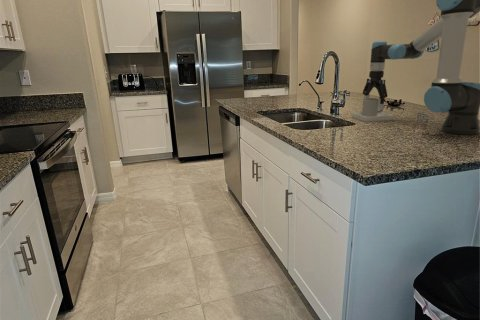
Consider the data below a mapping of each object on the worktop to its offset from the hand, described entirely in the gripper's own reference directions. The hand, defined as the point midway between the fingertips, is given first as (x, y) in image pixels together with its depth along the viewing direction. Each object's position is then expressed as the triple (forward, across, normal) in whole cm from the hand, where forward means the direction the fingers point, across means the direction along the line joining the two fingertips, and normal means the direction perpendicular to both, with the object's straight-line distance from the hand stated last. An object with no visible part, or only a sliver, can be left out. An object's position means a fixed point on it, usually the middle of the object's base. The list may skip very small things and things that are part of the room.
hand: (372, 108), depth 184 cm
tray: (+6, 0, 0) cm, 6 cm away
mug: (+6, 0, 0) cm, 6 cm away
